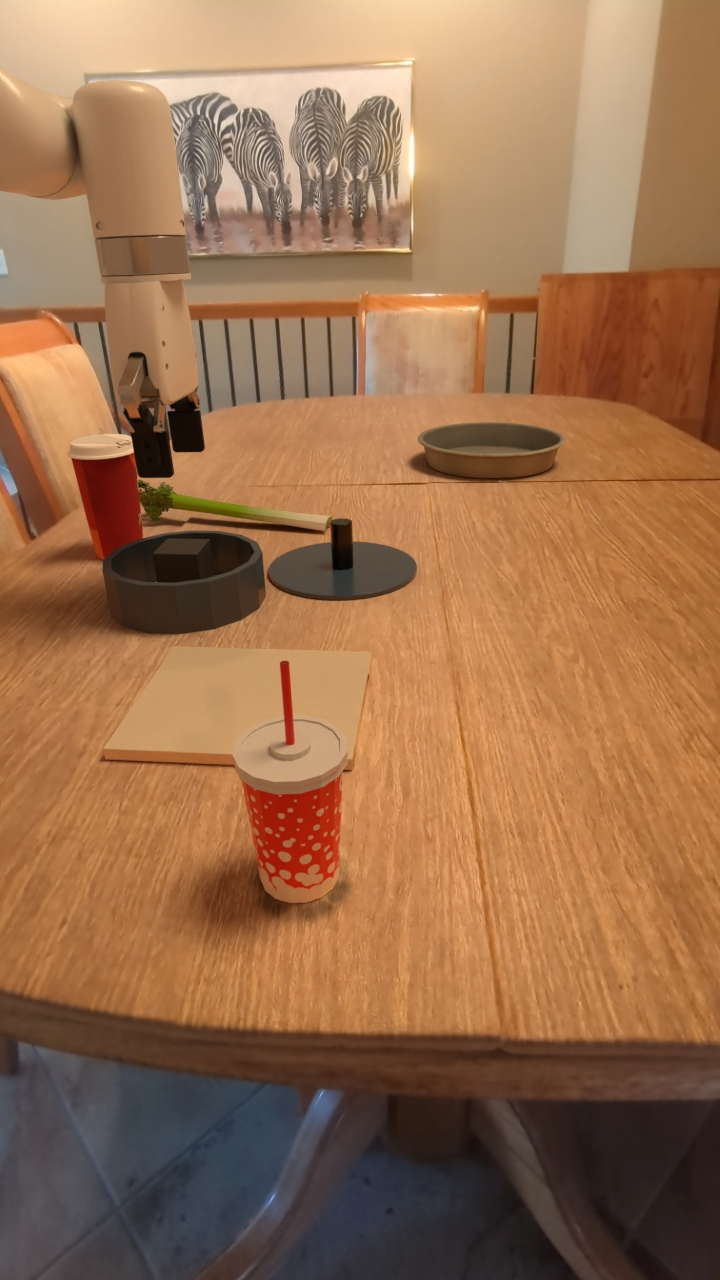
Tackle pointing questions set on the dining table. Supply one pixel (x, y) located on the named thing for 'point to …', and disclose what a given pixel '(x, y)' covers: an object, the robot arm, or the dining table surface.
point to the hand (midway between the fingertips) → (173, 463)
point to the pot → (184, 585)
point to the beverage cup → (294, 799)
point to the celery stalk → (222, 508)
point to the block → (183, 560)
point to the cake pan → (491, 449)
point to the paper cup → (108, 489)
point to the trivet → (236, 701)
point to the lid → (342, 568)
